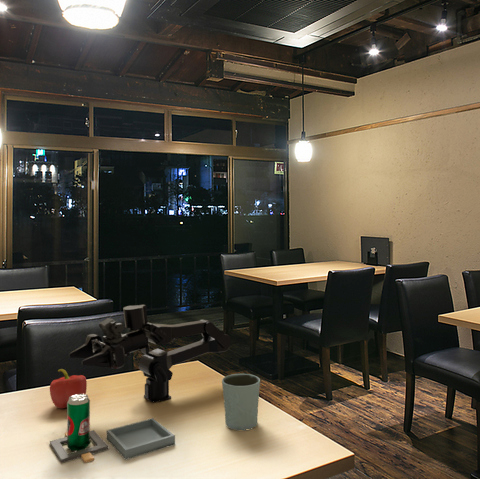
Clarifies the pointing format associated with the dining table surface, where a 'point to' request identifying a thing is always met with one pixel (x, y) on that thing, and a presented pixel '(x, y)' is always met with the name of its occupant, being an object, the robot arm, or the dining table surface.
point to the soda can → (78, 422)
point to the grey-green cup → (241, 400)
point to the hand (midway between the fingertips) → (75, 359)
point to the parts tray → (140, 438)
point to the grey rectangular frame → (84, 454)
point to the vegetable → (66, 388)
